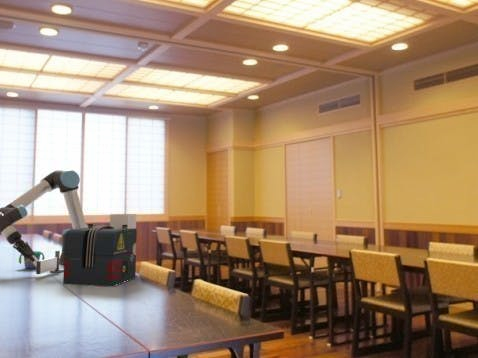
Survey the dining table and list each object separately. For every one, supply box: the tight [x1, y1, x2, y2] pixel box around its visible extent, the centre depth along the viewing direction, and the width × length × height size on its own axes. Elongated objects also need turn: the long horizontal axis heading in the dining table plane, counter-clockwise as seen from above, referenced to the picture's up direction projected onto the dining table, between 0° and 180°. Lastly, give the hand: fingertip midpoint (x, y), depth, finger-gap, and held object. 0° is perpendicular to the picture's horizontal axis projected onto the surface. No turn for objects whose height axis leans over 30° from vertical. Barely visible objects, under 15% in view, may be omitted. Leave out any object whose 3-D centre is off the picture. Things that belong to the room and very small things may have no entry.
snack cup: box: [18, 250, 45, 270], centre depth 300 cm, size 16×10×10 cm
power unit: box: [62, 223, 138, 287], centre depth 255 cm, size 28×28×30 cm
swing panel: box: [35, 256, 57, 275], centre depth 273 cm, size 21×2×7 cm, turn 176°
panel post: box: [49, 250, 64, 274], centre depth 285 cm, size 8×8×12 cm
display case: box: [109, 213, 137, 255], centre depth 283 cm, size 11×11×35 cm
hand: (38, 265), depth 272 cm, fingers closed
